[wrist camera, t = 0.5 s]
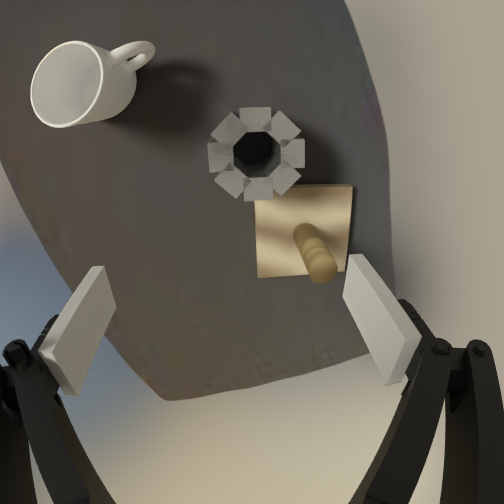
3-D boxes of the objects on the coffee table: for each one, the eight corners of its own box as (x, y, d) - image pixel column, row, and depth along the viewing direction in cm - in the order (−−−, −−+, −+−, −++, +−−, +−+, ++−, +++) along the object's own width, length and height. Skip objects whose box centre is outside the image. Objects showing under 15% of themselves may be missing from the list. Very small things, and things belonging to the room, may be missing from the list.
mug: (153, 27, 25) (124, 1, 16) (178, 83, 29) (156, 75, 20) (69, 78, 27) (21, 75, 18) (92, 131, 30) (47, 144, 21)
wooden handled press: (254, 186, 35) (262, 216, 26) (349, 184, 36) (385, 212, 27) (257, 273, 41) (264, 322, 32) (341, 266, 41) (368, 311, 32)
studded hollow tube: (210, 110, 31) (205, 110, 25) (290, 106, 31) (304, 107, 25) (215, 185, 35) (212, 203, 29) (291, 181, 35) (304, 198, 29)
